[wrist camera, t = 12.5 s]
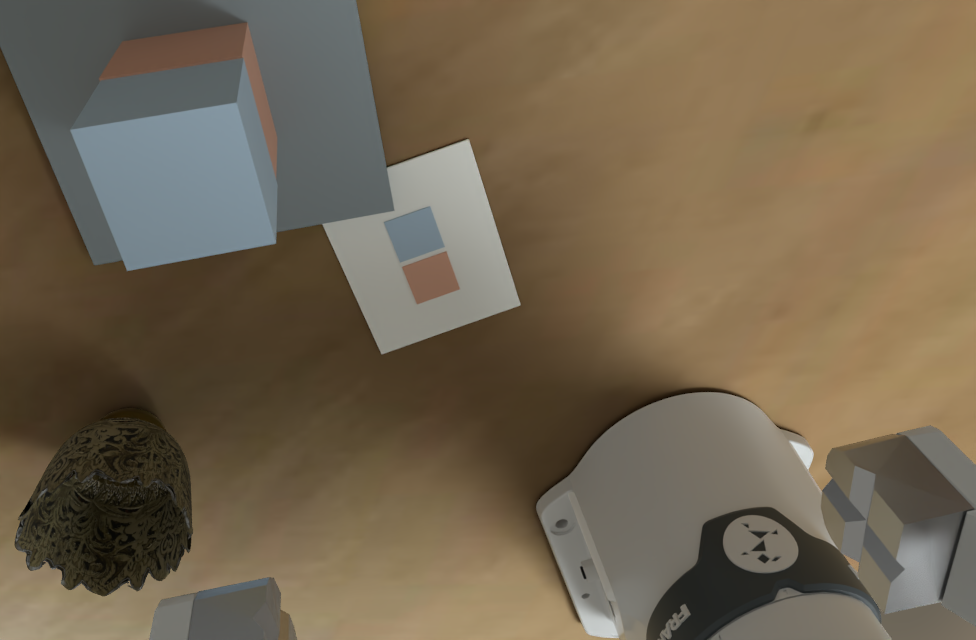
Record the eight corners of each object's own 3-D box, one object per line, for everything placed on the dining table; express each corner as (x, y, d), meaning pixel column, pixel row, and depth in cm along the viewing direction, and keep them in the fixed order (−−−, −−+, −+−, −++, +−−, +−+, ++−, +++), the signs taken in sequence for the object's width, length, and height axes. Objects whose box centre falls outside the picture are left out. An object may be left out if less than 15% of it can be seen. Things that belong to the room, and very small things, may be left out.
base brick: (277, 137, 36) (276, 183, 32) (162, 157, 36) (146, 206, 32) (247, 22, 34) (241, 55, 30) (122, 41, 33) (98, 78, 29)
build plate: (392, 203, 40) (394, 210, 40) (97, 257, 39) (94, 265, 38) (333, -119, 32) (334, -117, 32) (-41, -68, 31) (-48, -64, 30)
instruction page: (520, 304, 45) (521, 305, 45) (381, 353, 45) (381, 355, 45) (468, 138, 39) (469, 139, 39) (309, 194, 39) (309, 196, 39)
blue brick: (243, 57, 30) (236, 102, 26) (277, 185, 32) (275, 243, 28) (100, 80, 29) (70, 130, 25) (147, 207, 32) (127, 270, 28)
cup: (235, 433, 46) (226, 542, 39) (133, 500, 47) (108, 617, 40) (132, 348, 42) (103, 455, 35) (23, 424, 43) (-25, 541, 36)
